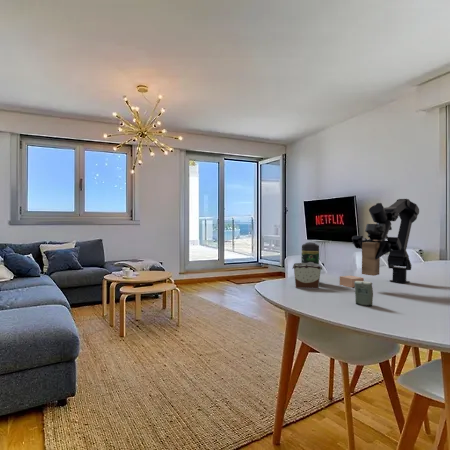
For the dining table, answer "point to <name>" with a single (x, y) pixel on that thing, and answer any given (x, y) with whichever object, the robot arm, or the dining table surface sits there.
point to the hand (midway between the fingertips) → (369, 258)
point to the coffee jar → (310, 253)
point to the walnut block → (370, 258)
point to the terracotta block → (349, 280)
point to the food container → (307, 275)
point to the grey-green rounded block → (363, 293)
